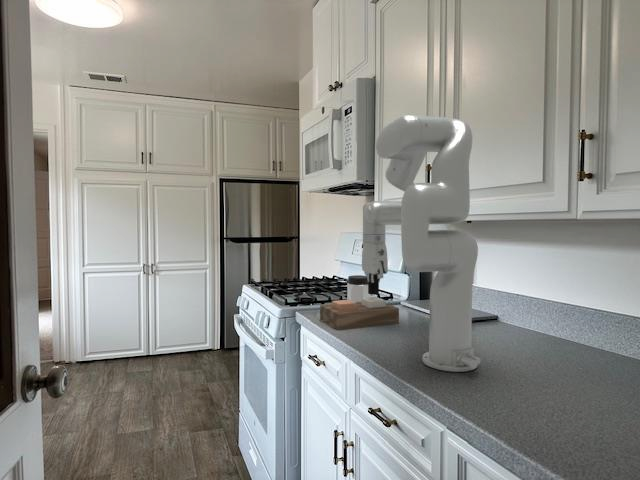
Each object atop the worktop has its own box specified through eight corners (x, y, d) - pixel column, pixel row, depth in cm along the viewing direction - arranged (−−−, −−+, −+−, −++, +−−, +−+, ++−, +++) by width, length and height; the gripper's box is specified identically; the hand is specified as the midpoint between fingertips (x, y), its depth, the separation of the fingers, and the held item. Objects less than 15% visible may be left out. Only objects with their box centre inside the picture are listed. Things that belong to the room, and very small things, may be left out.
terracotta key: (356, 314, 138) (356, 302, 137) (339, 315, 135) (339, 304, 135) (348, 310, 143) (348, 299, 143) (331, 311, 141) (331, 300, 141)
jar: (358, 304, 169) (358, 274, 168) (374, 307, 163) (374, 276, 163) (342, 308, 163) (342, 276, 162) (359, 311, 157) (359, 279, 156)
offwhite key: (385, 311, 142) (385, 300, 142) (370, 312, 140) (370, 301, 139) (376, 307, 147) (376, 297, 147) (361, 309, 145) (361, 298, 145)
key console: (398, 323, 139) (398, 308, 139) (337, 330, 131) (337, 314, 131) (377, 314, 152) (377, 300, 152) (320, 319, 144) (320, 305, 143)
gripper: (395, 240, 137) (395, 297, 138) (372, 238, 151) (372, 289, 152) (375, 241, 134) (374, 299, 135) (353, 238, 148) (353, 291, 149)
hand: (373, 293), depth 143 cm, fingers closed
